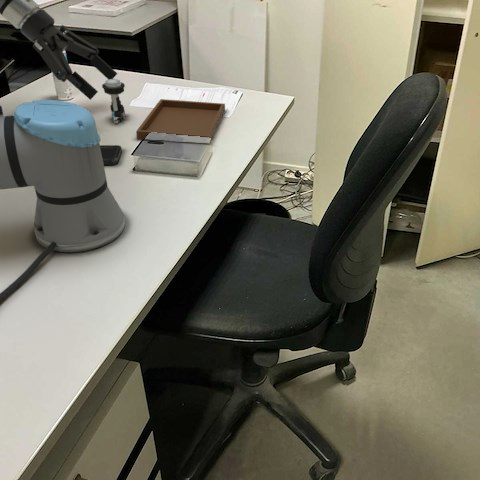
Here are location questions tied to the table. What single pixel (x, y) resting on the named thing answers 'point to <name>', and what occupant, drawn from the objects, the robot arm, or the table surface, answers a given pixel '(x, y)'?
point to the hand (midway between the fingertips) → (104, 86)
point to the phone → (110, 154)
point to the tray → (183, 118)
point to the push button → (115, 98)
